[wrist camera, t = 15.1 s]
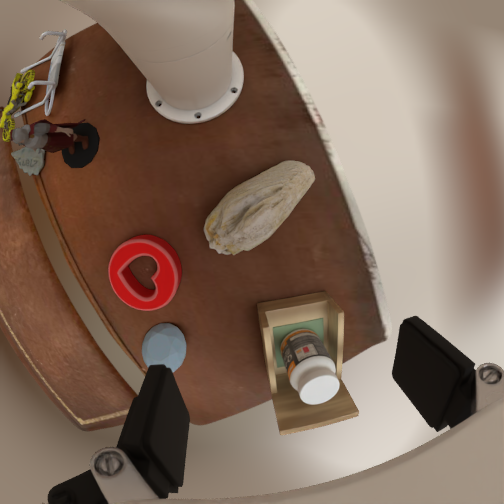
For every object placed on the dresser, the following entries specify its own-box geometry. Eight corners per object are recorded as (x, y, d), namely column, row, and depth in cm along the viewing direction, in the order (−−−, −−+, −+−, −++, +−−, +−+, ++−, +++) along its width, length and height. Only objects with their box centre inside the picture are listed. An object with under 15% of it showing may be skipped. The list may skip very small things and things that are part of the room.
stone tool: (45, 144, 28) (38, 177, 29) (51, 145, 29) (44, 177, 30) (10, 141, 26) (4, 172, 27) (16, 142, 28) (10, 172, 29)
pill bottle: (273, 337, 35) (287, 385, 26) (312, 320, 35) (338, 363, 25) (287, 366, 37) (302, 414, 27) (323, 350, 36) (348, 394, 27)
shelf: (256, 303, 37) (271, 364, 24) (325, 290, 38) (369, 341, 24) (266, 369, 40) (280, 435, 27) (326, 356, 41) (358, 416, 27)
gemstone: (202, 373, 36) (186, 370, 32) (158, 379, 37) (139, 376, 32) (195, 324, 40) (179, 315, 35) (154, 333, 41) (136, 326, 36)
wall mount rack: (59, 103, 24) (21, 105, 19) (39, 131, 31) (10, 134, 27) (77, 17, 20) (44, 14, 16) (50, 57, 28) (24, 57, 23)
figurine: (64, 173, 30) (-8, 175, 16) (61, 127, 28) (-7, 110, 14) (101, 161, 31) (32, 153, 16) (98, 112, 29) (35, 83, 14)
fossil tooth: (314, 191, 35) (220, 254, 35) (289, 150, 33) (192, 214, 33) (360, 193, 24) (230, 285, 24) (329, 136, 22) (188, 227, 22)
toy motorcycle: (45, 73, 24) (30, 69, 24) (27, 68, 20) (14, 65, 20) (17, 144, 27) (5, 134, 27) (-1, 144, 23) (-11, 133, 24)
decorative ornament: (107, 244, 33) (98, 249, 30) (171, 227, 34) (165, 231, 31) (129, 307, 36) (121, 316, 33) (190, 295, 36) (187, 305, 33)
